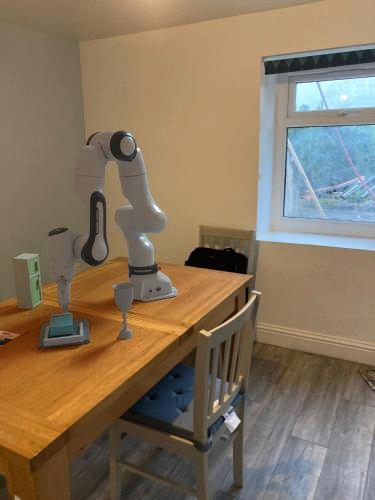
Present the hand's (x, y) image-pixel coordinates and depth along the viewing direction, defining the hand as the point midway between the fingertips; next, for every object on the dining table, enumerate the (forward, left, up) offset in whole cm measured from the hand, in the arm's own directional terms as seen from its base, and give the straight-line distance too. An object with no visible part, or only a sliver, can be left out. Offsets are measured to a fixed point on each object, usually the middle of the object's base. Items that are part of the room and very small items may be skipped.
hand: (66, 307), depth 145 cm
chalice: (-20, +20, -5) cm, 28 cm away
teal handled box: (+1, +13, -4) cm, 14 cm away
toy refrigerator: (+14, -18, -5) cm, 24 cm away
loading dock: (0, +12, -6) cm, 13 cm away
